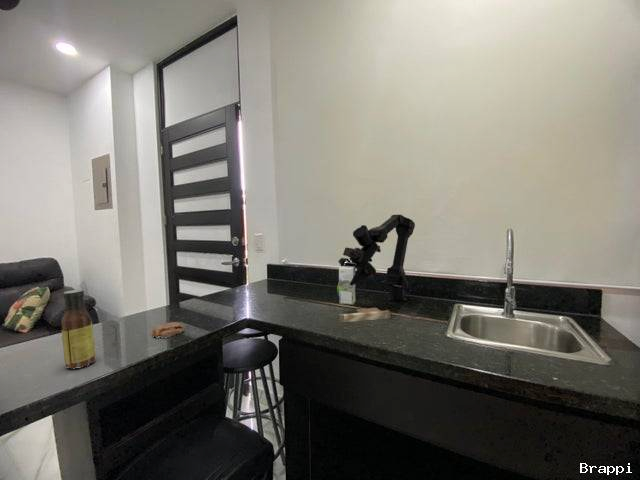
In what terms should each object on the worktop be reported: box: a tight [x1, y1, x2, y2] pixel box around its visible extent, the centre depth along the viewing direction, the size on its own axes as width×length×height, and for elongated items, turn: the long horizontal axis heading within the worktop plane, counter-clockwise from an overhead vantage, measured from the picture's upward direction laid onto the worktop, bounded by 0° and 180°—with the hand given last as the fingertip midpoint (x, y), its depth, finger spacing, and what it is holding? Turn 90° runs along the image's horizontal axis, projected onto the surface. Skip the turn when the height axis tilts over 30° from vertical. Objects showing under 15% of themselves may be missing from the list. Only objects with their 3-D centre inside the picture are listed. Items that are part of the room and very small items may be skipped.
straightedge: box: [338, 309, 391, 324], centre depth 110 cm, size 20×2×3 cm, turn 104°
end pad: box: [356, 307, 381, 313], centre depth 117 cm, size 9×9×1 cm
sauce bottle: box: [60, 289, 96, 368], centre depth 75 cm, size 7×6×20 cm
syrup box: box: [338, 265, 356, 306], centre depth 114 cm, size 6×6×14 cm
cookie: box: [151, 321, 185, 337], centre depth 98 cm, size 10×11×3 cm
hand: (344, 282), depth 113 cm, fingers closed on syrup box, 8 cm apart
